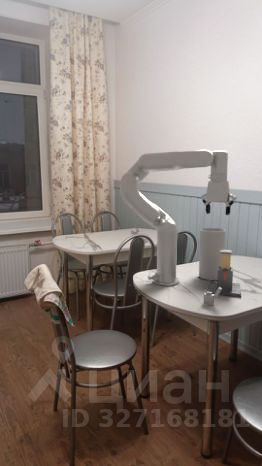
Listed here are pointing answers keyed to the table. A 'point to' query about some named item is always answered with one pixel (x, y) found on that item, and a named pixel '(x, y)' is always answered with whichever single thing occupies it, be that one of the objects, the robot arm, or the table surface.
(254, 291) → the table surface
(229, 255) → the column
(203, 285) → the table surface
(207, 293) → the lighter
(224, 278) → the stand base
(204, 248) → the cylinder vase
